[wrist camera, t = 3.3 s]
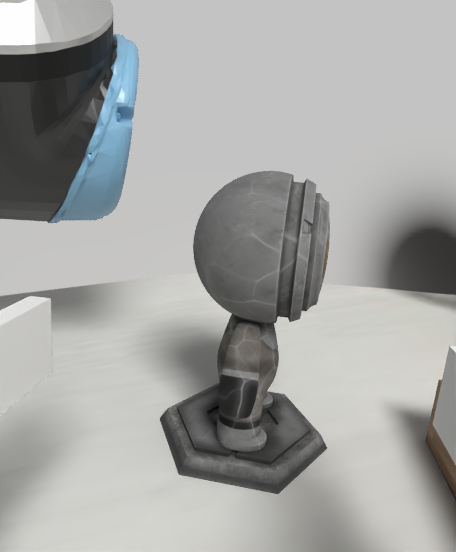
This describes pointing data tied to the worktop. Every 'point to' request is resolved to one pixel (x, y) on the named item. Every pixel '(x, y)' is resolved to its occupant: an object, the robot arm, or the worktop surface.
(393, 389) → the worktop surface
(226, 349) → the figurine
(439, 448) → the crate
